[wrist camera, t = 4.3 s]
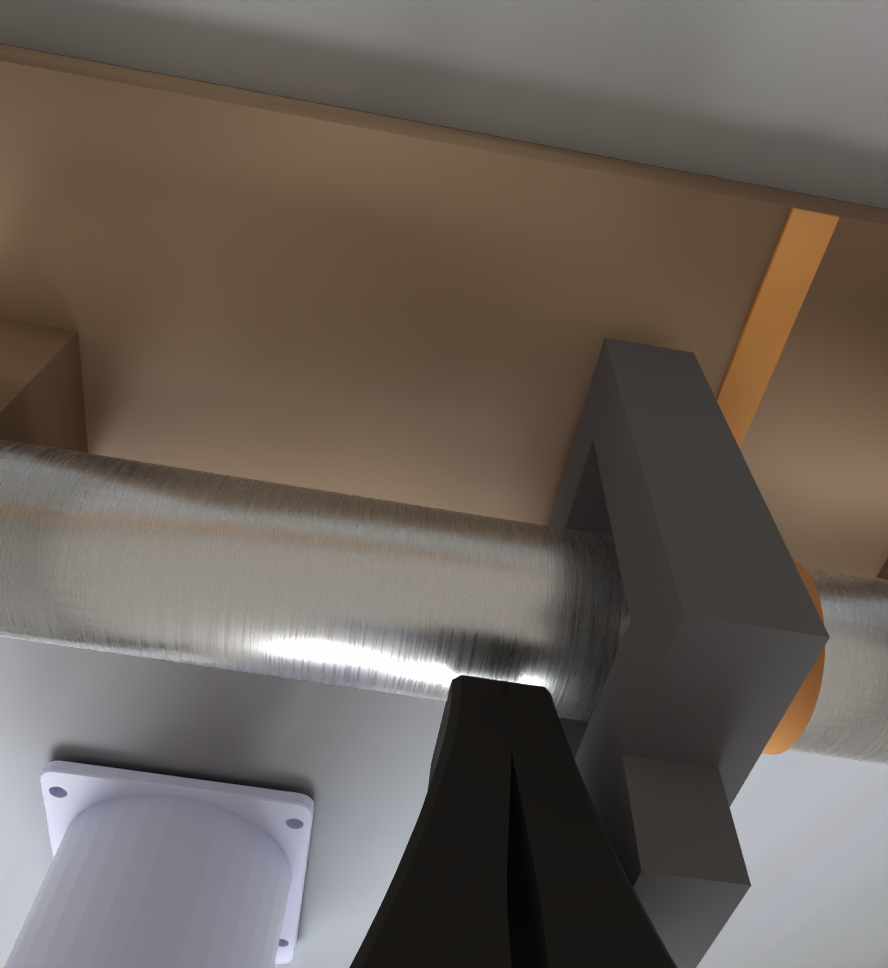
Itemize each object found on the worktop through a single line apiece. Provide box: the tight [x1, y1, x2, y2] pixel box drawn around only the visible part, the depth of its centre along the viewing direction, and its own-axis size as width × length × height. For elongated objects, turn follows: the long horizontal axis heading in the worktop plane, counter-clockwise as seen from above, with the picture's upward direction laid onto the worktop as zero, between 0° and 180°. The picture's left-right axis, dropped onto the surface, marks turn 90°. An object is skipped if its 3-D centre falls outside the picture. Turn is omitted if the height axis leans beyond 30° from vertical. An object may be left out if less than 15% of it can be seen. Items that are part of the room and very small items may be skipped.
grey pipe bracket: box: [548, 338, 830, 968], centre depth 13 cm, size 7×2×8 cm, turn 171°
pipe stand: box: [0, 44, 888, 765], centre depth 15 cm, size 12×22×7 cm, turn 80°
